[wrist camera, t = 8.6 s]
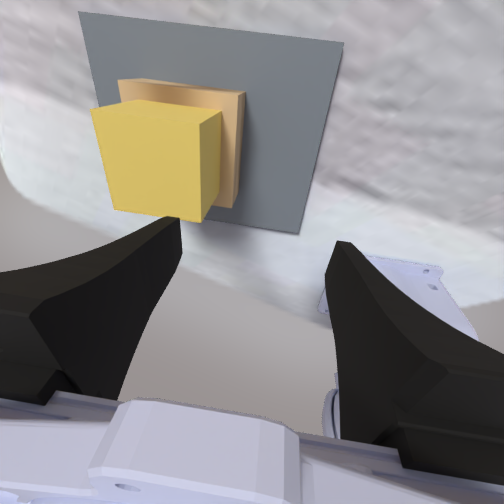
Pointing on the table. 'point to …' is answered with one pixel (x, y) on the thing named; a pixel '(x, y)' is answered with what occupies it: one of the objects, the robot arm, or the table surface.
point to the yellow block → (160, 157)
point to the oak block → (208, 99)
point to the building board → (234, 78)
